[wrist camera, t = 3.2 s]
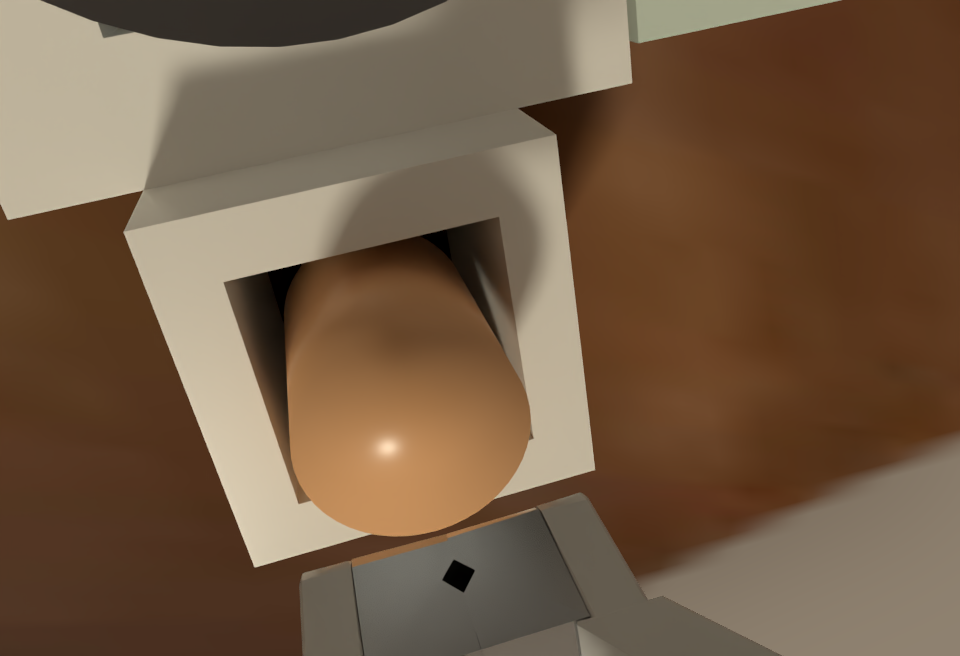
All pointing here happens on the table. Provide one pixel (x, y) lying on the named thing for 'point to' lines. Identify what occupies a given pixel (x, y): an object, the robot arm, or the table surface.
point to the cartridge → (247, 18)
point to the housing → (318, 198)
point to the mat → (699, 14)
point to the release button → (398, 391)
